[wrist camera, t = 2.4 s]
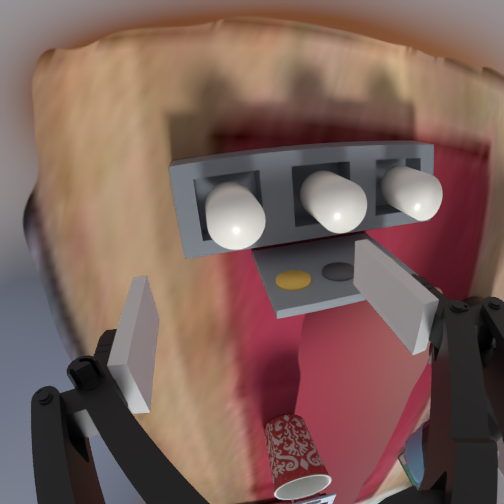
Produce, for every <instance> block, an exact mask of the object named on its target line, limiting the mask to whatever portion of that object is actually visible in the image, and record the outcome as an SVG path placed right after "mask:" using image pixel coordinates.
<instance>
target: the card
mask: <svg viewBox="0 0 504 504" xmlns="http://www.w3.org/2000/svg"><path fill="white" fill-rule="evenodd" d="M365 239H368V240H369V241H370V242H371V243H373V244H374V245H375V246H376V247H378V248H379V249H380V250H381V251H383V252H384V253H385V254H386V255H387V256H389V257H390V258H391V259H392V260H394V261H395V262H396V263H397V264H398V265H399V266H401V267H402V268H403V269H404V270H405V271H407V272H408V273H409V274H410V275H411V274H416V273H415V272H414V271H413V270H411V269H410V268H409V267H408V266H407V265H405V264H404V263H403V262H402V261H400V260H399V259H398V258H397V257H396V256H394V255H393V254H392V253H391V252H389V251H388V250H387V249H385V248H384V247H383V246H382V245H380V244H379V243H378V242H377V241H375V240H374V239H373V238H371V237H370V236H369V235H367V234H366V233H361V234H355V235H349V236H342V237H336V238H330V239H323V240H317V241H311V242H305V243H298V244H292V245H286V246H280V247H273V248H267V249H261V250H254V251H252V257H253V260H254V262H255V265H256V267H257V270H258V272H259V275H260V277H261V280H262V282H263V285H264V287H265V290H266V292H267V295H268V297H269V300H270V302H271V305H272V307H273V310H274V312H275V315H276V317H277V319H279V318H285V317H290V316H295V315H300V314H305V313H309V312H314V311H319V310H324V309H328V308H333V307H337V306H342V305H346V304H350V303H355V302H359V301H363V300H366V298H365V297H364V296H363V295H362V294H361V293H360V291H359V290H358V289H357V288H356V287H355V286H354V284H353V282H354V261H355V241H359V240H365ZM416 275H418V274H416ZM418 276H419V275H418Z"/></svg>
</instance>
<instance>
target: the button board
mask: <svg viewBox="0 0 504 504" xmlns="http://www.w3.org/2000/svg"><path fill="white" fill-rule="evenodd" d="M395 165H403V166H406V167H409V168H412V169H415V170H418V171H421V172H424V173H427V174H430V175H433V167H434V145H433V144H428V143H423V142H419V141H414V140H393V141H354V142H333V143H317V144H304V145H292V146H281V147H270V148H261V149H252V150H244V151H235V152H228V153H220V154H213V155H206V156H200V157H193V158H187V159H181V160H175V161H172V162H171V163H170V165H169V174H170V180H171V186H172V192H173V197H174V203H175V209H176V214H177V220H178V225H179V230H180V236H181V241H182V246H183V251H184V256H185V259H188V258H194V257H200V256H206V255H213V254H219V253H225V252H231V251H238V250H231V249H227V248H224V247H222V246H220V245H218V244H217V243H216V242H215V241H214V240H213V239H212V238H211V236H210V234H209V232H208V228H207V220H206V210H205V202H206V198H207V196H208V194H209V192H210V191H211V190H212V189H213V188H214V187H215V186H217V185H218V184H220V183H223V182H227V181H234V182H238V183H241V184H243V185H245V186H246V187H247V188H248V189H249V190H250V191H251V193H252V194H253V195H254V197H255V198H256V200H257V201H258V202H259V204H260V205H261V207H262V208H263V211H264V213H265V221H266V222H265V228H264V231H263V233H262V235H261V236H260V238H259V239H258V240H257V241H256V242H255V243H254V244H252V245H251V246H249V247H247V248H244V249H250V248H257V247H263V246H269V245H275V244H282V243H288V242H294V241H301V240H307V239H313V238H320V237H326V236H333V235H339V234H345V233H334V232H331V231H329V230H328V229H326V228H325V227H324V226H323V225H322V224H321V223H320V222H319V221H317V220H316V219H315V218H314V217H313V216H312V215H311V214H310V213H309V212H307V211H306V210H305V208H304V207H303V205H302V203H301V200H300V189H301V186H302V184H303V182H304V180H305V179H306V178H307V177H308V176H309V175H310V174H312V173H314V172H316V171H321V170H325V171H330V172H332V173H334V174H337V175H339V176H341V177H343V178H345V179H347V180H350V181H352V182H354V183H356V184H357V185H359V186H360V187H361V188H362V190H363V191H364V193H365V195H366V199H367V210H366V214H365V216H364V218H363V220H362V221H361V223H360V224H359V225H358V226H357V227H356V228H354V229H353V230H351V231H349V232H346V233H352V232H358V231H365V230H371V229H377V228H384V227H390V226H397V225H403V224H410V223H416V222H423V221H419V220H416V219H415V218H413V217H411V216H409V215H407V214H406V213H404V212H402V211H400V210H398V209H397V208H395V207H393V206H391V205H389V204H388V203H386V202H385V200H384V199H383V197H382V194H381V181H382V178H383V176H384V174H385V173H386V171H387V170H388V169H389V168H391V167H392V166H395ZM429 220H430V219H428V220H425V221H429ZM244 249H239V250H244Z"/></svg>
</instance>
